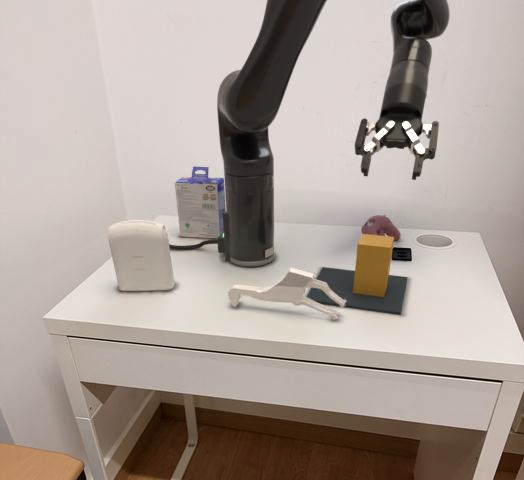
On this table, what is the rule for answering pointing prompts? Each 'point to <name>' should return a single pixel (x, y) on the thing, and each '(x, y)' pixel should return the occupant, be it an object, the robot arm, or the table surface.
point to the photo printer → (141, 255)
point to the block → (373, 264)
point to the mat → (343, 287)
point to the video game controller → (380, 227)
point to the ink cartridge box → (200, 205)
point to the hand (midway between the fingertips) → (389, 175)
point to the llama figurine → (289, 291)
